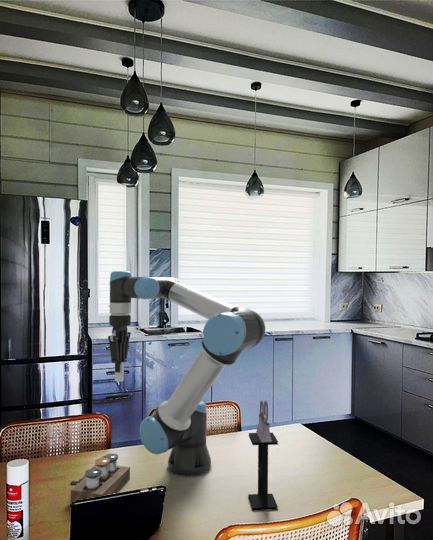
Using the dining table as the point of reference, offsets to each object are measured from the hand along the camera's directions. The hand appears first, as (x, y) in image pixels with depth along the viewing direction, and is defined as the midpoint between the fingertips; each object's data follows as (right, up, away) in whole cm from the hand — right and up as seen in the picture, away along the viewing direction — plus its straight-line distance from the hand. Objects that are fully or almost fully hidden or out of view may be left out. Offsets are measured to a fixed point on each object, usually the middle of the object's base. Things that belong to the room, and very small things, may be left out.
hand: (119, 380), depth 146 cm
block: (-1, -29, -19) cm, 35 cm away
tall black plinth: (+48, -29, -25) cm, 62 cm away
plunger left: (-2, -28, -25) cm, 37 cm away
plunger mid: (-1, -27, -19) cm, 33 cm away
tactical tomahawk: (-7, -30, -6) cm, 31 cm away
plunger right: (+1, -29, -14) cm, 32 cm away
